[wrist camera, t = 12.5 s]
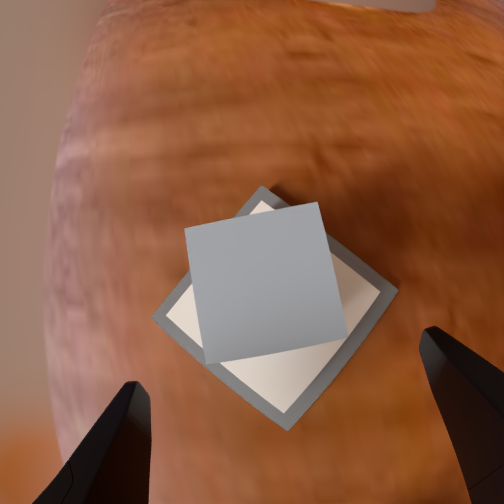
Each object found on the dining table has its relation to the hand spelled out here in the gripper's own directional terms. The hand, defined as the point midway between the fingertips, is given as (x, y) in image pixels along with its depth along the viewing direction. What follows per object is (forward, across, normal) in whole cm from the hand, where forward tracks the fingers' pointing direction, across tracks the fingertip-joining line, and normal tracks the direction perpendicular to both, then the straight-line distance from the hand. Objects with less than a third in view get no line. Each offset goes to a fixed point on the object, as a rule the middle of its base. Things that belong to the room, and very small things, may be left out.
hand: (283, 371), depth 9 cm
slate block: (+8, 0, +4) cm, 9 cm away
